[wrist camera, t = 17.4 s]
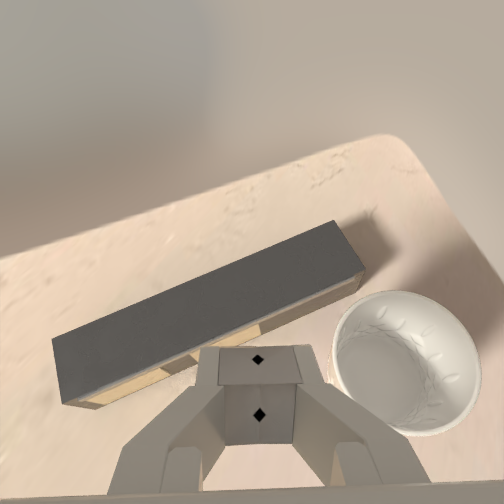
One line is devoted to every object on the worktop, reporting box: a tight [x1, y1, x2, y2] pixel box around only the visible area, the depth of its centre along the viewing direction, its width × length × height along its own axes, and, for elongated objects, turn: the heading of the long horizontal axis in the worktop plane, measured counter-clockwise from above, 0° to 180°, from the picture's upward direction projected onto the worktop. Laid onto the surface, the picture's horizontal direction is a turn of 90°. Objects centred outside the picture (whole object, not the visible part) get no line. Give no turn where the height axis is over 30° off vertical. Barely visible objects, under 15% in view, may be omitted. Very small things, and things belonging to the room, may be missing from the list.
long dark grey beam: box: [52, 220, 366, 410], centre depth 30 cm, size 5×24×5 cm, turn 113°
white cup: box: [327, 290, 482, 436], centre depth 25 cm, size 8×8×10 cm
